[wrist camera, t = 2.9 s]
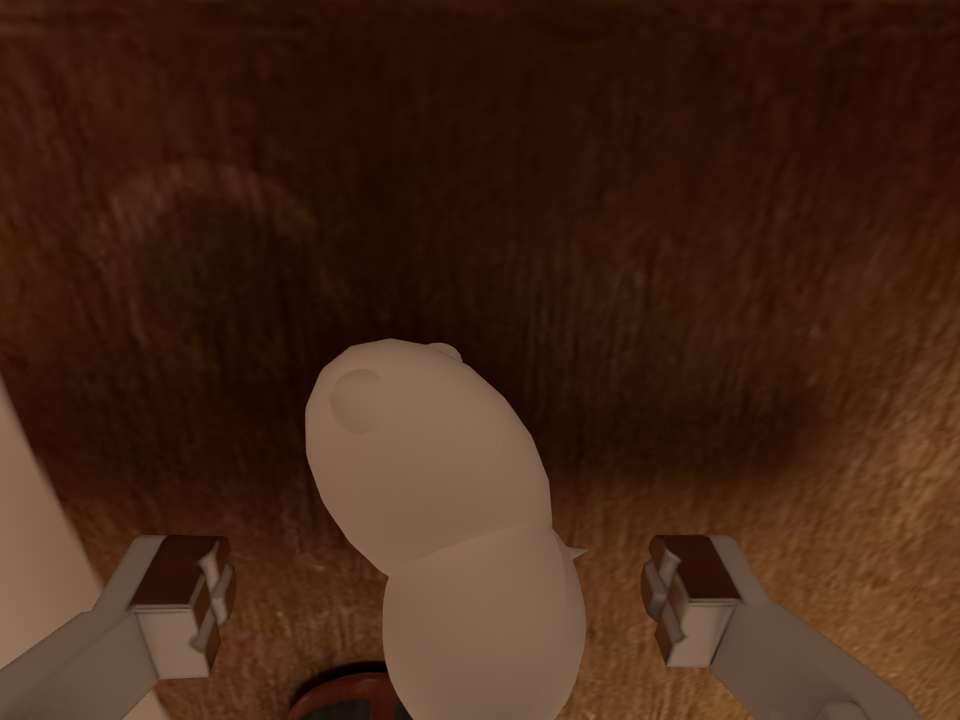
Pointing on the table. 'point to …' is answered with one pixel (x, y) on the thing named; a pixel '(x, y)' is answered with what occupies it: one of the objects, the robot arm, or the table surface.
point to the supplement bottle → (352, 700)
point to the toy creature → (449, 531)
